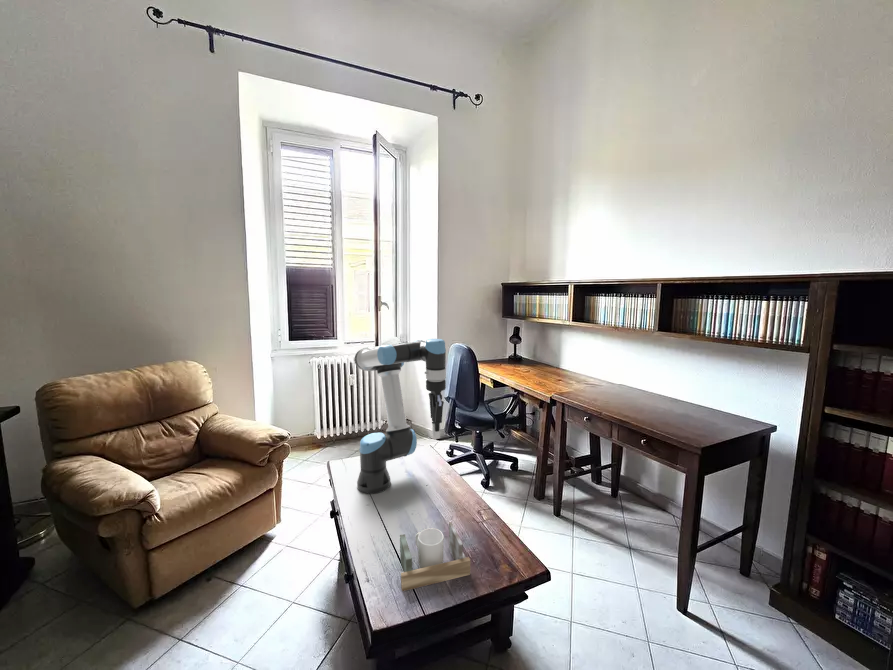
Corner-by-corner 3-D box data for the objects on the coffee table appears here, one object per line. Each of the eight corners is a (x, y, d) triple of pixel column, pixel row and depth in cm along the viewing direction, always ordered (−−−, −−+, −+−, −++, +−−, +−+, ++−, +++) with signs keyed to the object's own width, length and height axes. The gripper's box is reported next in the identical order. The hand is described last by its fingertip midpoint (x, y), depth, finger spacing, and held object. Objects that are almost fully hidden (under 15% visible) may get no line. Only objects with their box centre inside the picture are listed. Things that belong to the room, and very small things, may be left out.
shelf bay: (395, 560, 122) (394, 533, 121) (459, 546, 129) (459, 520, 127) (402, 591, 110) (401, 561, 108) (473, 573, 116) (473, 545, 115)
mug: (406, 557, 123) (406, 530, 122) (425, 546, 129) (425, 519, 127) (429, 579, 114) (429, 549, 113) (448, 565, 120) (448, 536, 118)
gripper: (422, 376, 144) (423, 432, 147) (430, 384, 132) (431, 446, 135) (440, 374, 146) (440, 430, 150) (450, 382, 134) (450, 443, 137)
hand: (436, 437), depth 142 cm, fingers closed
